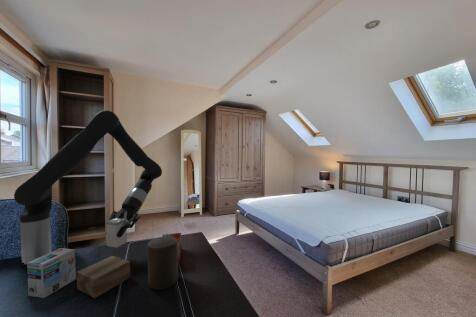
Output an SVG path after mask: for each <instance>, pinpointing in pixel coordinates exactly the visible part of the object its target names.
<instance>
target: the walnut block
mask: <svg viewBox="0 0 476 317" xmlns="http://www.w3.org/2000/svg"><path fill="white" fill-rule="evenodd" d="M130 278H131V261H130V260H127V259H124V258H122V257H118V256H114V255H111V256H109V257H107V258H105V259H102V260H99V261H98V262H95V263H93V264H91V265H89V266H87V267H85V268H81V269H80V270H77V271H76V290H78V291H80V292H82V293H84V294H86V295H87V296H90V298H91V297H92V298H93V299H96V298H97V297H99V296H101V295H102V294H104V293H106V292H108V291H110V290H111V289H113V288H115V287H116V286H118V285H120V284H122V283H123V282H125V281H126V280H128V279H130Z"/></svg>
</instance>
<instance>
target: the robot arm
mask: <svg viewBox="0 0 476 317" xmlns="http://www.w3.org/2000/svg"><path fill="white" fill-rule="evenodd" d="M108 134H109V135H110V136H111V137H112V138H113V140H115V141H116V143H117V144H119V146H120V147H121V149H122V150H123V151H124V154H126V155H127V157H128V158H129V159H130V161H131V162H133V164H134V165H135V166H137V167H138V168H139V167H142V168H143V171H141V174H140V176H139V178H138V181H137V182H136V183H135V185H134V187H133V188H132V190H130V192H129V193H128V195H127V196H126V198H125V199H124V201H123V202H122V204H121V208H120V209H119V210H118V211H116V210H113V211H112V213H111V214H110V216H109V219H108V220H107V221H109V220H112V219H117V218H122V219H123V220H124V223H123V225H122V226H123V227H121V228H120V230H119V231H118V233H117V236H118V237H121V236H122V235H123V234H124V232H125V231H126V229H127V230H128V229H131V228H133V227H134V226H135V224H136V223H137V222H138V220H140V218H141V215H140V214H139V213H138V212H139V211H140V210H141V208H142V206H143V204H144V202H145V201H146V199H147V196H148V195H149V193H150V191H151V190H152V187H153V186H152V185H153V184H152V183H153V182H154V180H157V179H158V178H160V177H161V176H162V175H163V170H162V168H161V166H160V165H159V163H157V162H156V161H154V159H152V158H151V157H149V156H148V154H146V152H145V151H144V150H143V149H142V148H141V147H140V145H139V144H138V143H137V142H136V141H135V139H133V138H132V136H130V134H129V133H128V132H127V130H126V128H124V126H123V124H122V122H121V121H120V118H119V117H118V115H117V114H116V113H114V112H113V111H111V110H106V109H104V110H101V111H99V112H97V113H96V114H95V116H94V117H93V118H92V119H91V120H90V121H89V123H88V124H87V125H86V126H85V127H84V129H82V130H81V131H80V132H79V133H77V134H76V135H75V136H74V137H73V138H72V139H71V140H69V141H68V142H66V144H65V145H64V146H62V147H61V148H60V149H59V150H58V151H57V152H56V153H55V154H54V155H53V156H52V157H51V158H50V159H49V160H48V161H47V162H46V163H45V164H44V165H43V167H41V169H40V170H38V171H37V172H36V173H35V174H33V175H32V176H31V177H30V178H29V179H27V180H26V181H24V182H23V183H22V184H21V185H19V186H18V187H17V188H16V189H15V191H14V195H13V199H14V201H15V202H16V204H18V205H21V206H24V208H23V210H22V212H21V214H20V216H19V228H20V252H21V255H20V256H21V264H22V263H24V264H23V265H27V262H30V261H32V260H34V259H37V258H39V257H41V256H44V255H46V254H48V253H51V252H53V250H52V248H53V247H52V233H51V232H52V230H51V227H52V226H51V212H52V206H53V204H52V203H53V202H52V201H53V200H52V198H53V196H52V195H53V194H52V188H51V187H52V186H53V185H55V183H56V182H57V181H59V180H60V179H61V178H63V177H65V176H66V175H68V174H69V173H71V172H72V171H74V170H75V169H76V168H78V167H79V165H81V163H82V162H83V161H85V159H86V158H88V157H89V155H90V153H91V152H92V151H93V149H95V146H96V145H97V143H98V142H100V140H101V139H102V138H103V137H105V136H106V135H108ZM126 223H127V224H126Z"/></svg>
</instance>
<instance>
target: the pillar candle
mask: <svg viewBox="0 0 476 317" xmlns="http://www.w3.org/2000/svg"><path fill="white" fill-rule="evenodd" d="M146 246H147V248H146V249H147V285H148V287H149V288H150V290H155V291H161V290H166V289H169V288H171V287H173V286H174V285H175V284H176V283H177V282H178V280H179V265H178V260H177V239H176V238H174V237H162V236H161V237H156V238H153V239H151V240H149V241H148V243H147V245H146Z"/></svg>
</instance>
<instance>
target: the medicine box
mask: <svg viewBox="0 0 476 317" xmlns="http://www.w3.org/2000/svg"><path fill="white" fill-rule="evenodd" d="M161 237H174V238H176V239H177V260H178V266H179V264H180V261H181V260H180V259H181V254H182V250H183V248H182V232H176V233H165V234H162V236H161ZM181 249H182V250H181Z"/></svg>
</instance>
